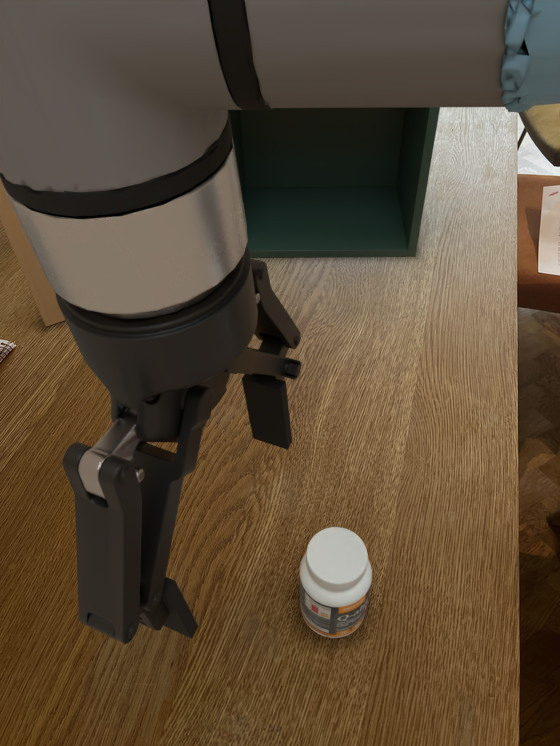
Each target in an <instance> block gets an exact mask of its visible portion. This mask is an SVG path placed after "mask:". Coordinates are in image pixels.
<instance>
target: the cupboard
mask: <svg viewBox="0 0 560 746" xmlns="http://www.w3.org/2000/svg"><path fill="white" fill-rule="evenodd" d="M440 110H441V107H377V108H273V109H272V110H271V109H270V110H229V115H230V122H231V128H232V135H233V143H234V149H235V155H236V161H237V167H238V174H239V180H240V186H241V192H242V198H243V205H244V211H245V217H246V223H247V235H248V242H247V247H248V250H249V253H250V259H255V258H260V259H261V258H267V259H268V258H271V259H272V258H407V257H408V258H415V257H416V256H417V250H418V243H419V238H420V232H421V226H422V219H423V213H424V209H425V208H424V207H425V202H426V201H425V200H426V196H427V190H428V189H427V188H428V184H429V177H430V171H431V165H432V159H433V152H434V147H435V141H436V135H437V128H438V123H439V116H440Z"/></svg>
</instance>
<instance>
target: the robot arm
mask: <svg viewBox="0 0 560 746" xmlns="http://www.w3.org/2000/svg"><path fill="white" fill-rule="evenodd" d="M558 104H560V0H0V178H1V181H2V183H3V185H4V190H5V192H6V194H7V196H8V198H9V200H10V202H11V204H12V207H13V209H14V211H15V213H16V215H17V217H18V219H19V221H20V223H21V226H22V228H23V230H24V232H25V234H26V236H27V238H28V240H29V242H30V245H31V247H32V249H33V251H34V253H35V255H36V257H37V259H38V261H39V264H40V266H41V268H42V270H43V272H44V274H45V276H46V278H47V280H48V281H49V283H50V284H51V286H52V287H53V289H54V290H55V292H56V299H57V303H58V305H59V307H60V310H61V312H62V314H63V316H64V318H65V320H64V321H65V322H66V325H67V327H68V329H69V331H70V333H71V335H72V337H73V339H74V341H75V344H76V346H77V347H78V350H79V352H80V354H81V356H82V358H83V360H84V362H85V363H86V365H87V367H89V369H90V370H91V371H92V373H93V374H94V375H95V377H96V378H98V380H99V381H100V382H101V383H102V384H103V385H104V387H105V388H106V389H107V390H108V392H109V396H110V416H111V417H110V418H111V422H112V424H111V425H110V427H109V428H108V429H107V430H106V432H104V434H103V435H102V436H101V437H100V438H99V439H98V441H96V443H95V444H94V445H93V446H90V445H89V444H85V443H82V442H79V441H76V442H73V443H72V444H71V445H69V446H68V448H67V449H66V451H65V452H64V455H63V457H62V468H63V471H64V472H65V474H66V477H67V480H68V482H69V485H70V487H71V489H72V491H73V493H74V508H75V509H74V514H75V516H74V517H75V542H76V543H75V544H76V545H75V547H76V572H77V573H76V574H77V604H78V606H77V607H78V621H79V623H81V624H82V625H84V626H87V627H89V628H90V629H92V630H95V631H97V632H99V633H101V634H102V635H105V636H107V637H109V638H111V639H113V640H115V641H118V642H119V643H121V644H124V645H127V644H129V643H130V642H132V641H133V639H134V637H135V636H136V635H137V632H138V629H139V626H140V625H143V626H145V627H147V628H149V629H151V630H153V631H156V632H158V631H161V630H162V628H163V627H165V628H167V629H170V630H172V631H174V632H176V633H177V634H178V633H179V634H180V635H183V636H185V637H187V638H189V639H193V638H194V637H195V634H196V632H197V630H198V629H199V625H198V624H199V623H198V622H197V620H196V618H195V616H194V614H193V612H192V611H191V609H190V607H189V605H188V603H187V601H186V599H185V597H184V596H183V595H184V594H182V591H181V590H180V587H179V586H178V584H177V581H176V580H175V579H172V578H170V577H168V576H166V574H167V570H168V565H169V559H170V553H171V549H172V544H173V538H174V533H175V527H176V522H177V516H178V511H179V505H180V500H181V494H182V489H183V484H184V478H185V477H186V476H188V475H190V474H191V473H193V472H194V471H195V470H196V467H197V463H198V457H199V453H200V452H199V451H200V447H201V442H202V436H203V431H204V427H206V424H207V422H208V420H210V418H211V415H212V412H213V410H214V409H215V408H216V407H217V405H218V404H219V403H220V402H221V401H222V399H223V397H224V396H225V394H226V392H227V390H228V389H227V385H228V383H229V380H230V376H231V374H233V375H238V374H240V375H243V376H242V377H241V383H242V388H243V395H244V399H245V404H246V409H247V415H248V419H249V425H250V430H251V435H252V439H253V440H256V441H259V442H262V443H265V444H269V445H271V446H275V447H278V448H280V449H283V450H286V451H289V449H290V447H291V445H292V443H293V434H292V426H291V418H290V417H291V416H290V408H289V407H290V406H289V399H288V389H287V381H286V379H291V380H292V381H293V380H294V381H296V380H298V378H299V376H300V374H301V369H302V361H300V360H298V359H294V358H290V357H287V354H288V352H289V349H291V350H297V348H298V347H299V345H300V343H301V340H302V337H301V331H300V330H299V328H298V326H297V325H296V323H295V321H294V319H292V317H291V315H290V314H289V313H288V311H287V309H286V308H285V307H284V305H283V304H282V302H281V300H280V299H279V297H278V295H276V293H275V292H274V290H273V288H272V285H271V280H270V275H269V270H268V265H267V262H266V261H263V260H259V259H255V258H250V253H249V250H248V247H247V242H248V235H247V223H246V217H245V211H244V205H243V198H242V192H241V186H240V180H239V174H238V167H237V161H236V155H235V149H234V143H233V135H232V128H231V122H230V115H229V110H270V109H271V110H272V109H273V108H377V107H440V108H505V110H507V112H508V113H516V114H517V113H525V112H527V111H529V110H531V109H532V108H534V107H536V106H537V107H538V106H548V105H558ZM254 336H255V337H256V338H257V339H258V340H259V341H261V343H260V345H259V348H258V349H257V348H254V347H250V346H249V345H250V344H251V342H252V341H253V337H254ZM151 443H173V444H175V443H177V444H176V451H175V452H174V451H171V450H168V449H165V448H162V447H159V446H156V445H154V444H151Z"/></svg>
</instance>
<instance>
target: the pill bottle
mask: <svg viewBox="0 0 560 746" xmlns="http://www.w3.org/2000/svg"><path fill="white" fill-rule="evenodd" d="M307 544H308V545H307V547H306V552H305V553H304V555H303V557H302V559H301V561H300V564H299V606H300V611H301V616H302V618H303V620H304V622H305V623H306V625H307V626H308V627H309V629H311V631H313V632H315V633H316V634H317V635H319V636H322V637H324V638H330V639H339V638H344V637H347V636H349V635H351V634H353V633H354V632H355V631H356V630H358V629H359V627H360V626H361V624H362V623H363V621H364V619H365V616H366V612H367V608H368V602H369V597H370V592H371V587H372V583H373V568H372V565H371V562H370V559H369V555H368V554H369V553H368V550H367V547H366V544H365V542H364V541H363V539H362V538H361V537H360V536H359V535H358V534H357V533H355V532H354V531H352V530H350V529H349V528H345V527H340V526H331V527H326V528H323V529H322V530H320V531H318V532H317V533H315V534H314V535H313V536H312V537H311V539H310V540H309V542H308V543H307Z"/></svg>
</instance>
